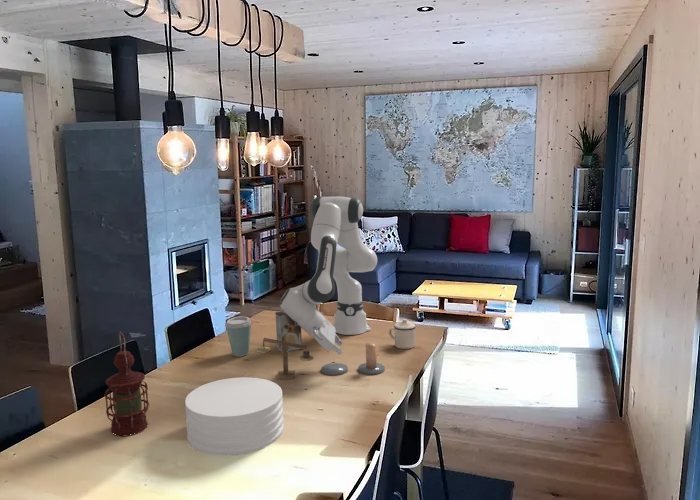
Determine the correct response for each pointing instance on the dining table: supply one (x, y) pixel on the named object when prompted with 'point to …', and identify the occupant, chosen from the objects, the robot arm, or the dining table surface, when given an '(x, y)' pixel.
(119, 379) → the lantern
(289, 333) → the coffee box
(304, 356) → the balance
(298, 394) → the dining table surface
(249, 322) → the disposable coffee cup
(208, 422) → the plate stack
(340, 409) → the dining table surface
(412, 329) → the teacup with lid
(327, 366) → the dish
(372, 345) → the peach shift knob
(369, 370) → the dish
